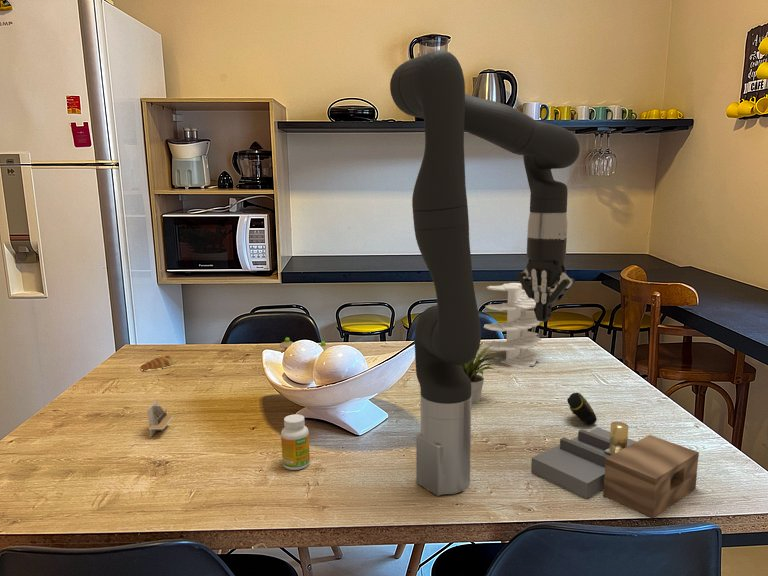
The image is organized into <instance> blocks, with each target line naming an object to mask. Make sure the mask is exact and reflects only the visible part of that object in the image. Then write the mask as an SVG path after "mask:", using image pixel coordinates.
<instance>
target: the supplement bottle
mask: <svg viewBox="0 0 768 576" xmlns="http://www.w3.org/2000/svg"><path fill="white" fill-rule="evenodd" d="M305 421H306V420H305V416H304V415H302V414H297V413H295V414H290V415H287V416H285V417H284V418H283V425H284V427H283V428H282V430H281V432H280V434H281V437H280V438H281V457H282V458H281V460H282V461H281V462H282V466H283V467H284V468H285V469H287V470H290V471H291V470H292V471H297V470H302V469H305V468H307V467H308V466H309V464H310V462H311V460H310V459H311V457H310V455H311V454H310V436H309V435H310V431H309V429H308V427H307V425H305Z"/></svg>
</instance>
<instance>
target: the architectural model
mask: <svg viewBox="0 0 768 576" xmlns="http://www.w3.org/2000/svg"><path fill="white" fill-rule="evenodd" d="M147 415H148V416H147V417H148V430H149V438H152V437H153V435H154V434H155V433H156V432H163V431H164V430H165V428H166V427H168V424H169V423H170V421H172V419H173V418H174V415H172V414H171V415H168V413H167V409H165V410H164V409H163V407H162V406H161V405H159V403H158V400H155V401H154V403H153V404H151V406H149V408H148V409H147Z"/></svg>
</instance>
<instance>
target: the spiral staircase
mask: <svg viewBox="0 0 768 576" xmlns="http://www.w3.org/2000/svg"><path fill="white" fill-rule="evenodd" d="M486 289H488V290H490V291H491V290H492V291H499V292H500V291H501V292H502V291H503V292H507V302H502V303H498V304H493V303H492V304H489V303H488V305H484V307H485V308H487V309H488V310H494V311H500V312H502V311H506V313H507V315H506V321H505V322H499V323H495V322H493V323H486V324H484V326H483V329H485V330H489V331H496V332H503V333H504V332H506V341H495V340H492V341H489V342H488V341H484V342H483V344H482V345H481V346H482V347H483V348H484V349H485V348H486V347H488V346H491V345H492V346H491V347H490V348H488V349H487V350H492V351H496V352H502V351H505V354H506V355H505V359H504V360H501V361H500V363H502V364H505V365H508V366H511V367H513V368H516V369H518V368H519V369H518V370H522V369H523V368H524V369H526V367H527V368H530V367H531V366H532V367H534V365H536V364H537V361H541V359H540V358H539V357H538V356H537V355H538V352H537V351H533V350H530V349H532V348H533V347H537V345H538V343H539V342H541V341H542V338H540V337H539V336H538V335H539V333H537V332H533V331H529V329H532V328H536V327H537V326H539V325H540V323H542V322H541V321H537V318H536V316H535V310H530V309H536V302H535V300H533V299H532V298H528V296H527V294H526V292H525V290H524V289H523V287H522V285H521V283H520V282H508V283H503V284H501V285H489V286H486ZM529 366H530V367H529ZM524 369H523V370H524Z"/></svg>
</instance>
